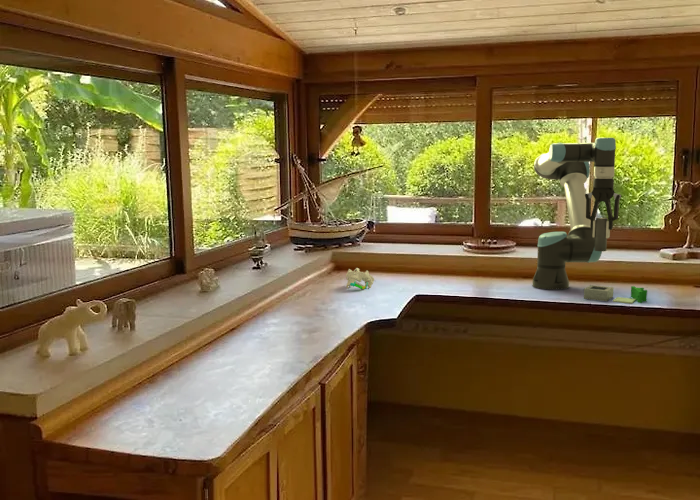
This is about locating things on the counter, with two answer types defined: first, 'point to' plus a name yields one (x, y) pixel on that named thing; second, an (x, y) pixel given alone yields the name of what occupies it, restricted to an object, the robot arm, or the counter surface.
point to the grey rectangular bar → (600, 234)
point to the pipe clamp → (638, 294)
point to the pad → (624, 300)
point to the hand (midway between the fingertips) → (601, 237)
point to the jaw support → (359, 279)
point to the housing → (598, 293)
